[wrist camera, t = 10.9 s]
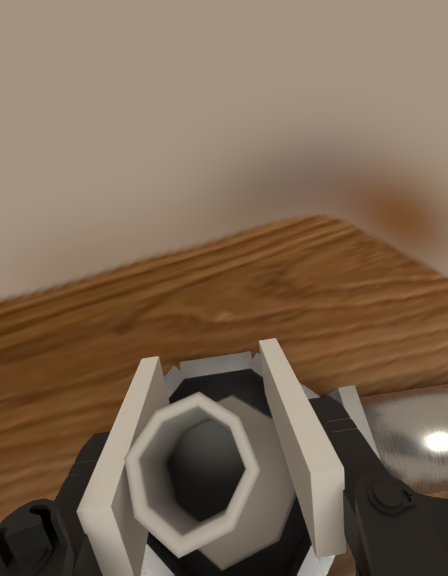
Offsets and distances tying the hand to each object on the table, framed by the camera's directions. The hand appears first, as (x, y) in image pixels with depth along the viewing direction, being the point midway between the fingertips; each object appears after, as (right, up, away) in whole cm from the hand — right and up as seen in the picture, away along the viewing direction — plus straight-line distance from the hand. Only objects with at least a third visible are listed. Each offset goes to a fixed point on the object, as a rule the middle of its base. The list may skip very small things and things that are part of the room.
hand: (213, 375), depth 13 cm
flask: (+1, -6, +2) cm, 6 cm away
